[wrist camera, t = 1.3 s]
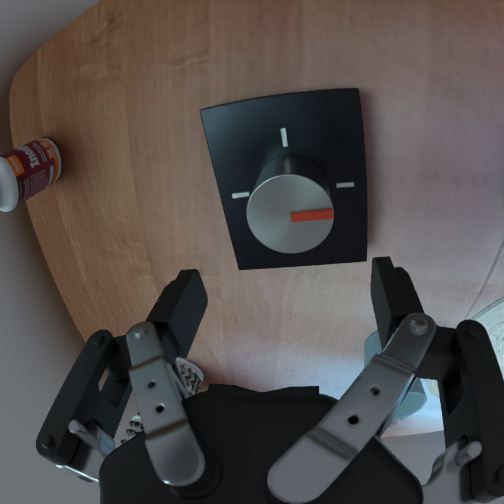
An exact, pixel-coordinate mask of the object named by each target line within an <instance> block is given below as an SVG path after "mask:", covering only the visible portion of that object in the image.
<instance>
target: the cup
mask: <svg viewBox="0 0 504 504" xmlns="http://www.w3.org/2000/svg"><path fill="white" fill-rule="evenodd" d="M381 352H382V348H381V343H380V337H379V332H378V331H377V332H375V333H373V334H372V335H371V336H369V337H368V339H367V340H366V342H365V365H364V368H365V367H366V365H367V364H368V363H369V361H370V360H371V359H372V357H373V356H374V355H375V354H378V355H379V354H380V353H381ZM426 400H427V398H426V395H425V392H424V389H423V386H422V383H421V381H420V378H417V379H416V381H415V382H414V384H413V386H412V388H411V389H410V391H409V393H408V394H407V396H406V398H405V399H404V401H403V403H402V404H401V406H400V408H399V409H398V411H397V412H396V414H395V416H394V418H393V419H392V421H395V420H399V419H402V418H405V417H407V416H409V415H411V414H413V413H415V412H417V411H418V410H419V409H421V408H422V407H423V406H424V404H425V403H426Z"/></svg>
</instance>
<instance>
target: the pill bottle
mask: <svg viewBox="0 0 504 504" xmlns="http://www.w3.org/2000/svg"><path fill="white" fill-rule="evenodd" d="M60 173H61V157H60V153H59V150H58V148H57V146H56V145H55V144H54V143H53V142H52V141H51V140H49V139H47V138H40V139H37V140H35V141H32V142H30V143H28V144H25V145H23V146H21V147H18V148H16V149H14V150H12V151H10V152H7V153H6V154H4V155H2V156H0V211H3V212H8V211H11V210H12V209H14V208H15V207H17V206H18V205H20V204H21V203H23V202H24V201H26V200H27V199H29V198H30V197H32V196H34V195H35V194H37V193H38V192H40V191H42V190H43V189H45V188H46V187H48V186H50V185H51V184H53V183H54V182H56V180H57V179H58V178H59V176H60Z"/></svg>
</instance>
